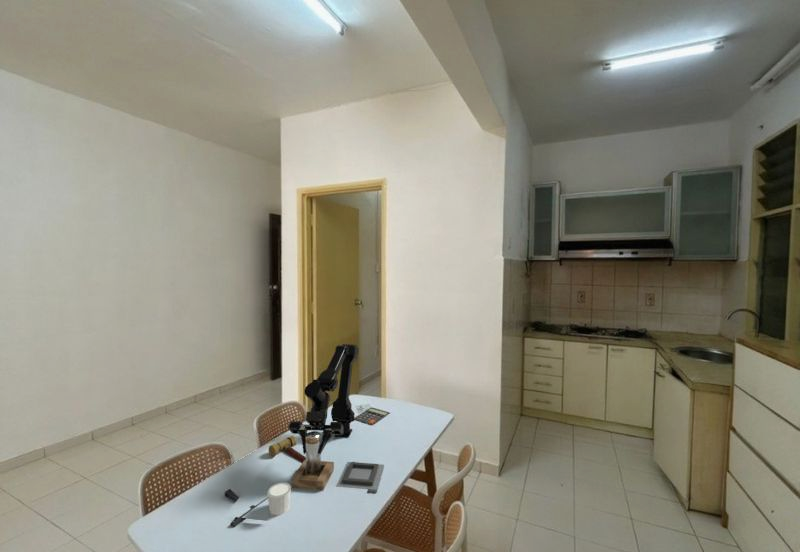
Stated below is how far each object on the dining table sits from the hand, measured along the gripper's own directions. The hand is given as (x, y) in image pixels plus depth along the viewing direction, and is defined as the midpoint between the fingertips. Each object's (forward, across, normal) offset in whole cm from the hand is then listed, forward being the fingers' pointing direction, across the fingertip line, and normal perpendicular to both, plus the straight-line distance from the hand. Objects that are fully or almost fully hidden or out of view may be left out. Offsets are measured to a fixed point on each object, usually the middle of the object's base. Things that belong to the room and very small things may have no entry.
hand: (311, 453), depth 119 cm
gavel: (-3, -11, +19) cm, 22 cm away
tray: (+5, +16, +10) cm, 20 cm away
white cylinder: (+17, -6, -2) cm, 18 cm away
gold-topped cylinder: (+3, 0, +5) cm, 6 cm away
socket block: (+7, 0, +8) cm, 11 cm away
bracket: (+15, -20, +1) cm, 25 cm away
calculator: (-28, +14, +44) cm, 55 cm away
